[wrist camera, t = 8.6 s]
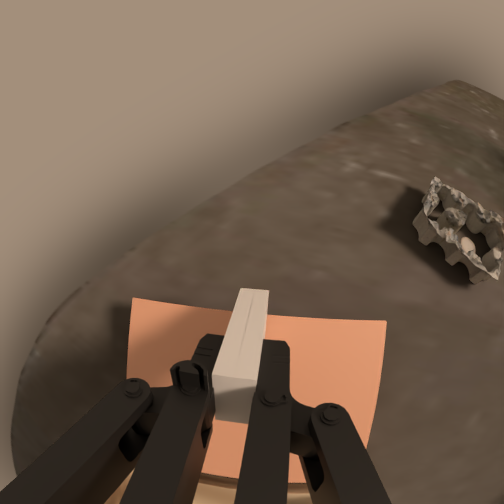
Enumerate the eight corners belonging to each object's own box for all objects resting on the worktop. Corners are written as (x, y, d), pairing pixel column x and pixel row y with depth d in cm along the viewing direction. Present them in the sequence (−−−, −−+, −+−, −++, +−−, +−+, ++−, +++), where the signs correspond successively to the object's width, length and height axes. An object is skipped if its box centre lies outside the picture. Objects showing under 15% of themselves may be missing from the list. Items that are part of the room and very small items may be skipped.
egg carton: (493, 245, 21) (514, 227, 18) (479, 298, 19) (505, 283, 15) (426, 187, 25) (441, 162, 21) (402, 232, 22) (421, 207, 19)
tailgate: (356, 479, 12) (386, 320, 15) (127, 451, 14) (132, 297, 17) (352, 472, 14) (379, 320, 16) (134, 445, 15) (141, 299, 18)
